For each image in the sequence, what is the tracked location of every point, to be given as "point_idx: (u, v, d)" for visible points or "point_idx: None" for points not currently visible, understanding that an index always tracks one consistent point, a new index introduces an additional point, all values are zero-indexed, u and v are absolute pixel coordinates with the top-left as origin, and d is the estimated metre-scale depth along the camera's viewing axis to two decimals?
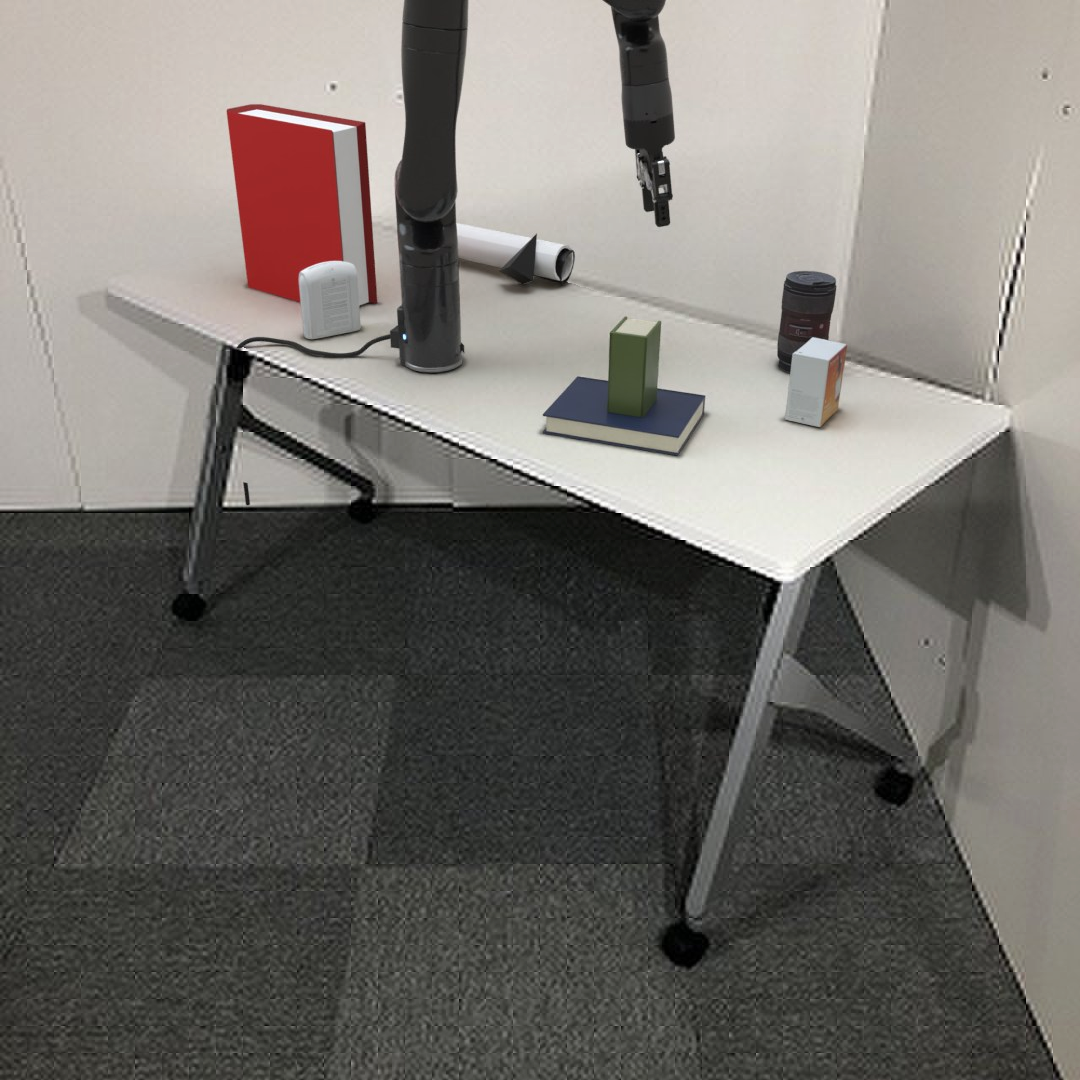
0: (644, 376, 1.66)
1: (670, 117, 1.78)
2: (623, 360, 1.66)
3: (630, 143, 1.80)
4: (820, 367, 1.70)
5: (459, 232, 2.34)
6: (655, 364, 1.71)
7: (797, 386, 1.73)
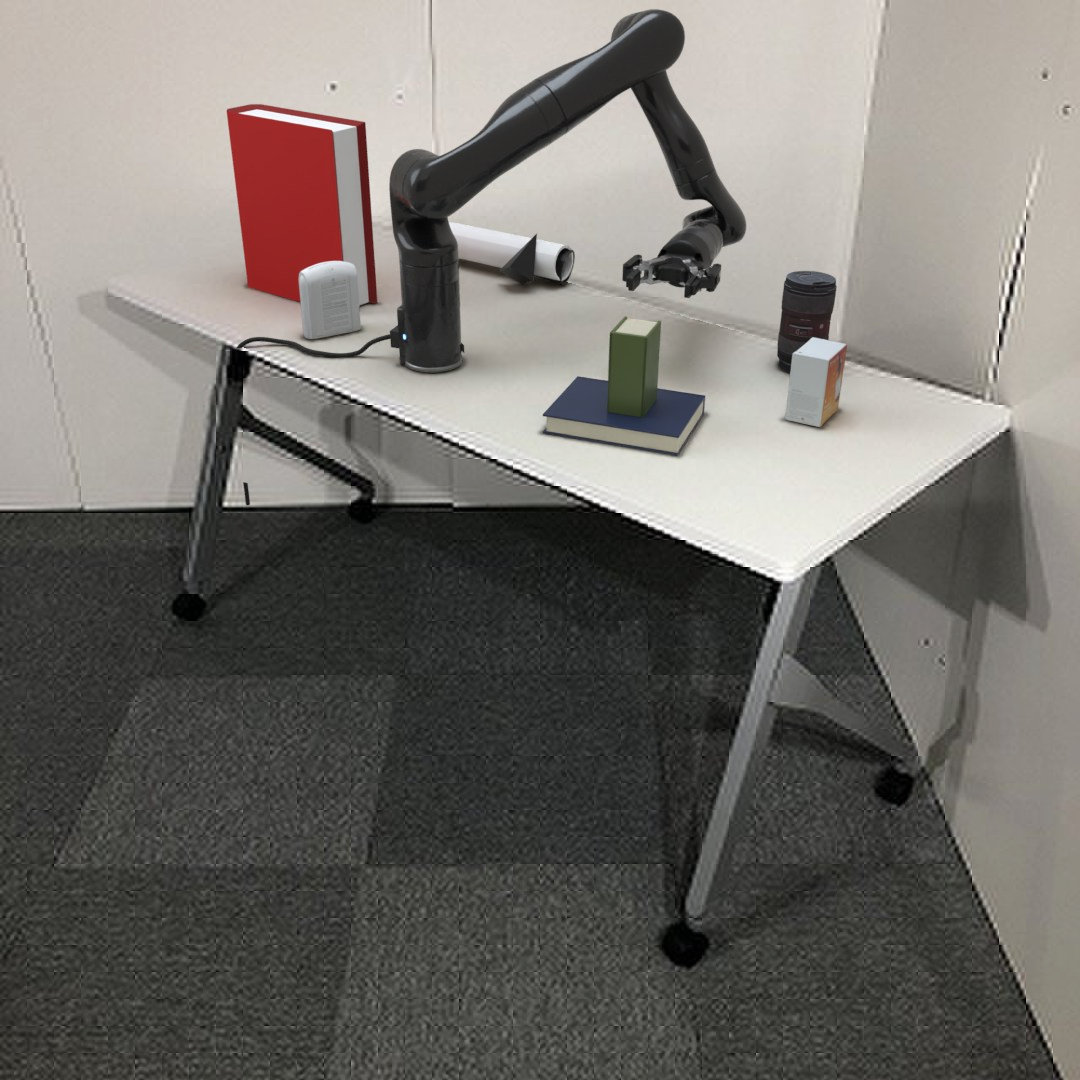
0: (644, 376, 1.66)
1: None
2: (623, 360, 1.66)
3: (693, 242, 1.83)
4: (820, 367, 1.70)
5: (459, 232, 2.34)
6: (655, 364, 1.71)
7: (797, 386, 1.73)
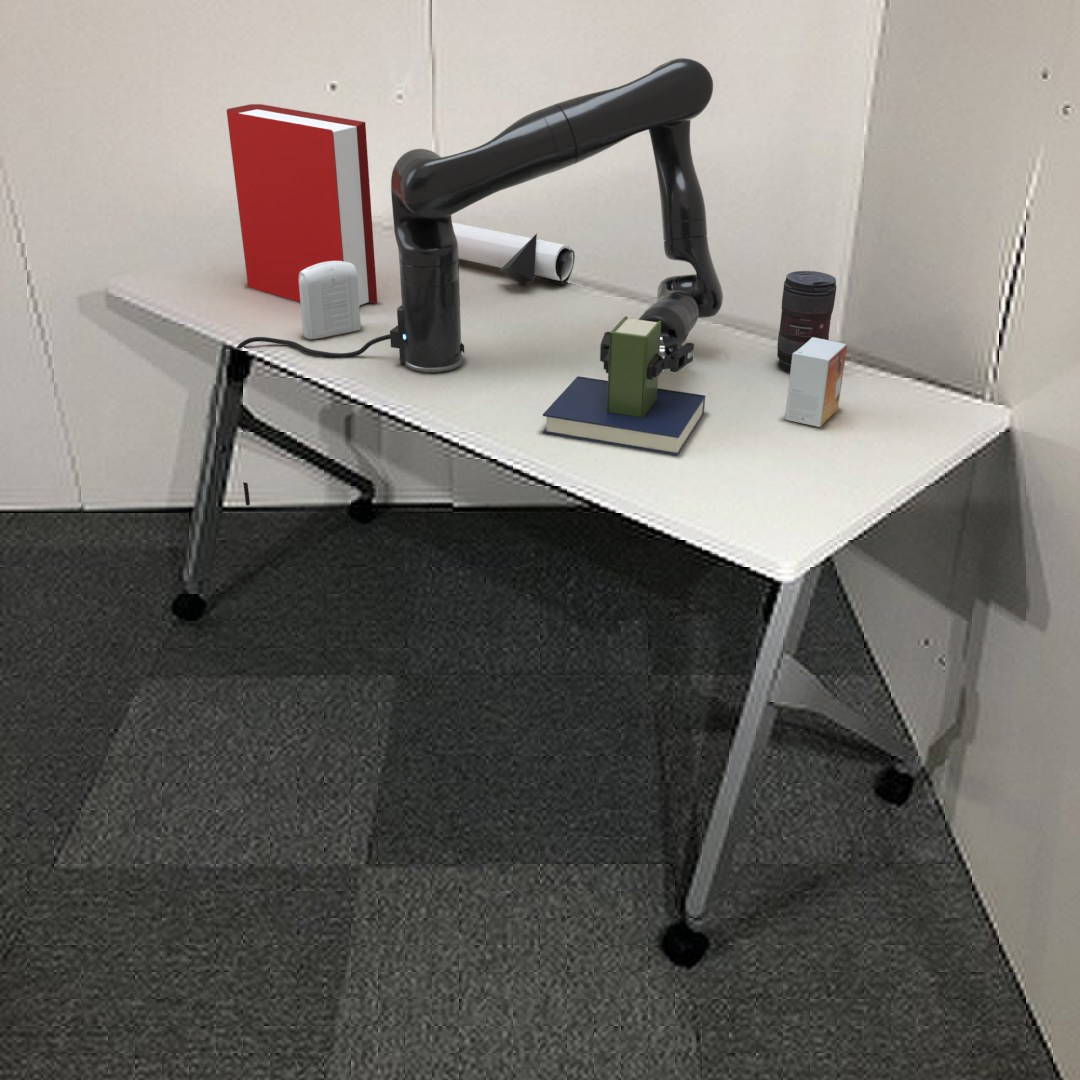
0: (644, 376, 1.66)
1: None
2: (623, 360, 1.66)
3: (666, 318, 1.76)
4: (820, 367, 1.70)
5: (459, 232, 2.34)
6: None
7: (797, 386, 1.73)
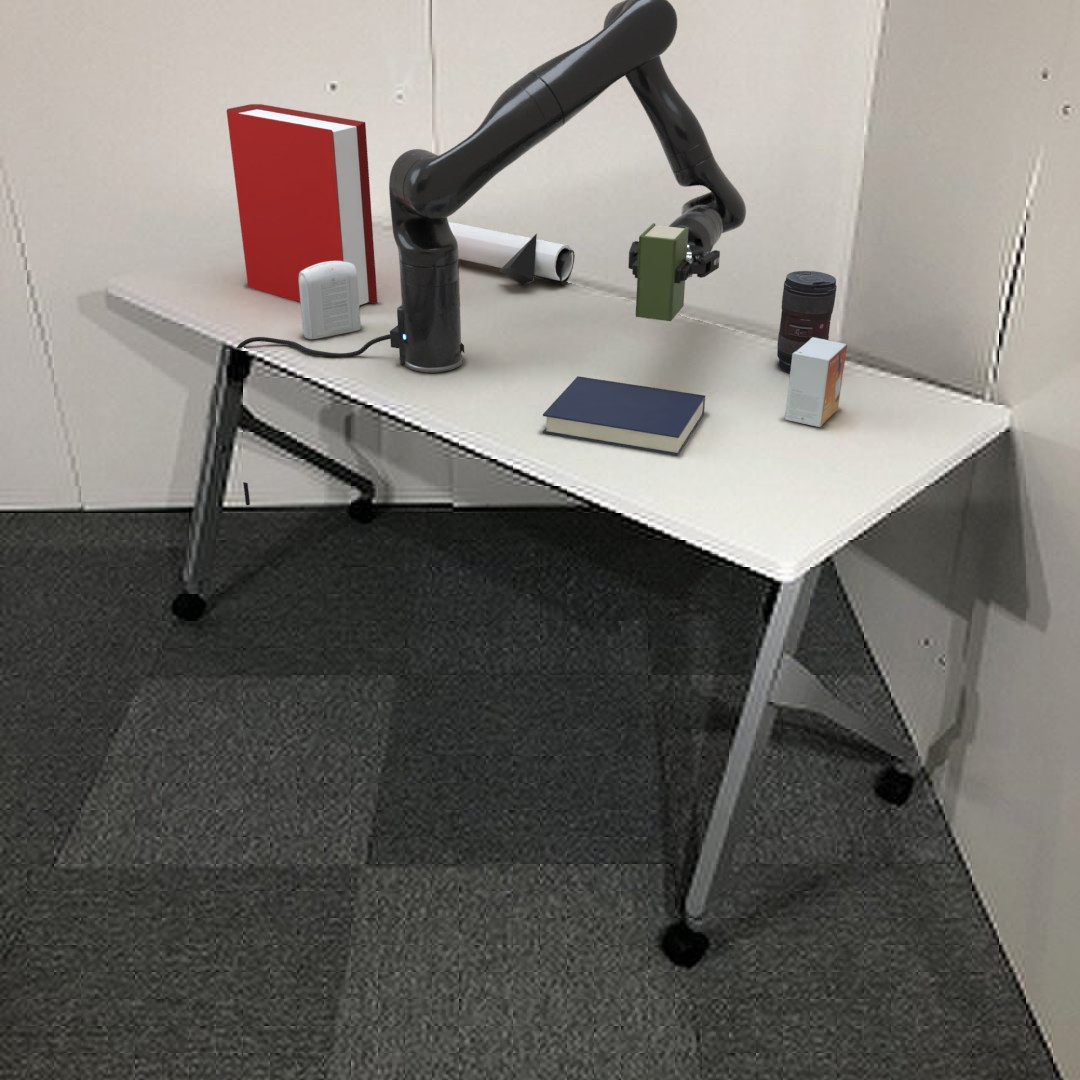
0: (672, 279, 1.71)
1: None
2: (652, 264, 1.71)
3: (693, 227, 1.81)
4: (820, 367, 1.70)
5: (458, 232, 2.34)
6: None
7: (797, 386, 1.73)
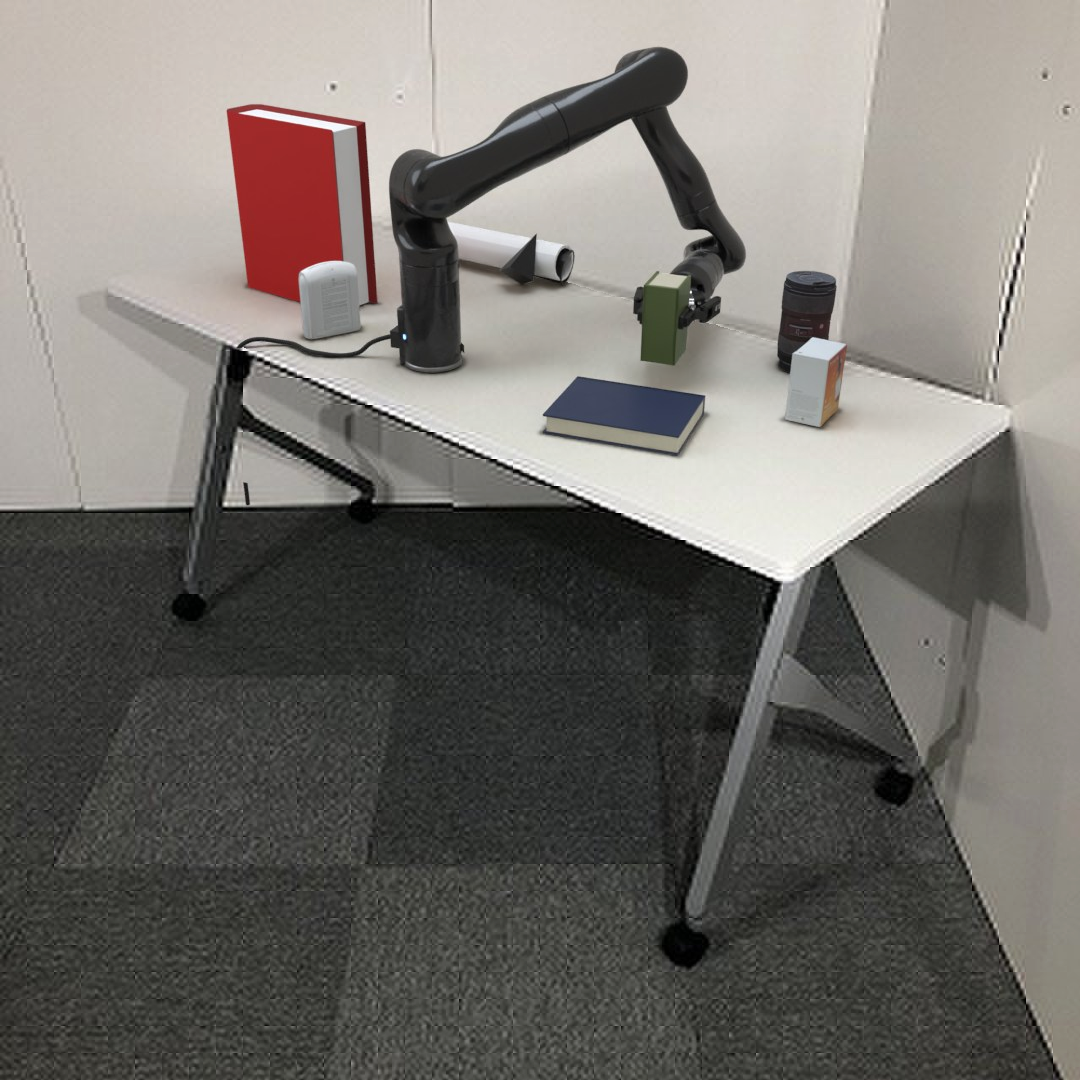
0: (676, 326, 1.79)
1: None
2: (656, 311, 1.79)
3: (695, 273, 1.88)
4: (820, 367, 1.70)
5: (458, 232, 2.34)
6: None
7: (797, 386, 1.73)
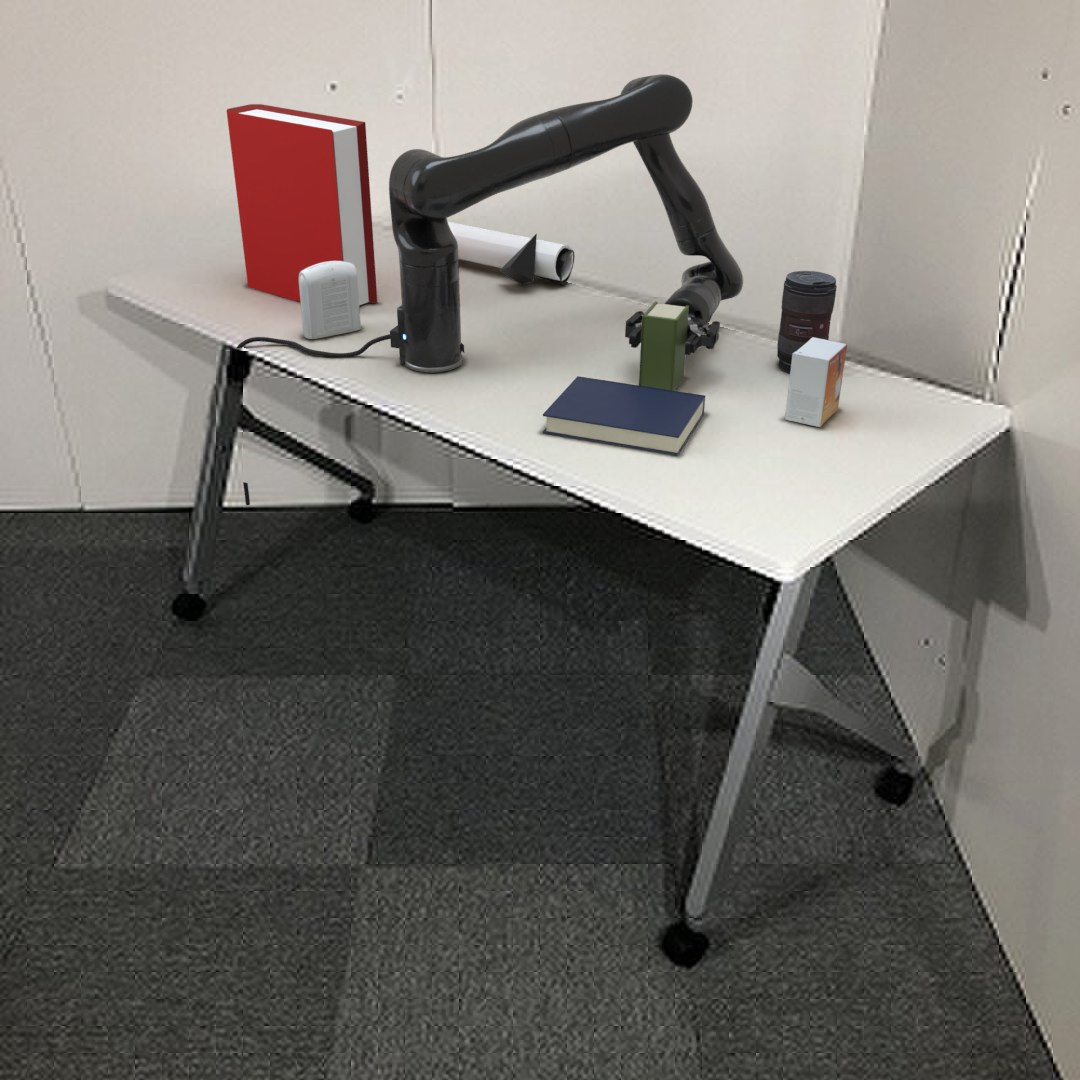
0: (673, 356, 1.81)
1: None
2: (654, 341, 1.81)
3: (692, 300, 1.90)
4: (820, 367, 1.70)
5: (458, 232, 2.34)
6: (683, 345, 1.85)
7: (797, 386, 1.73)
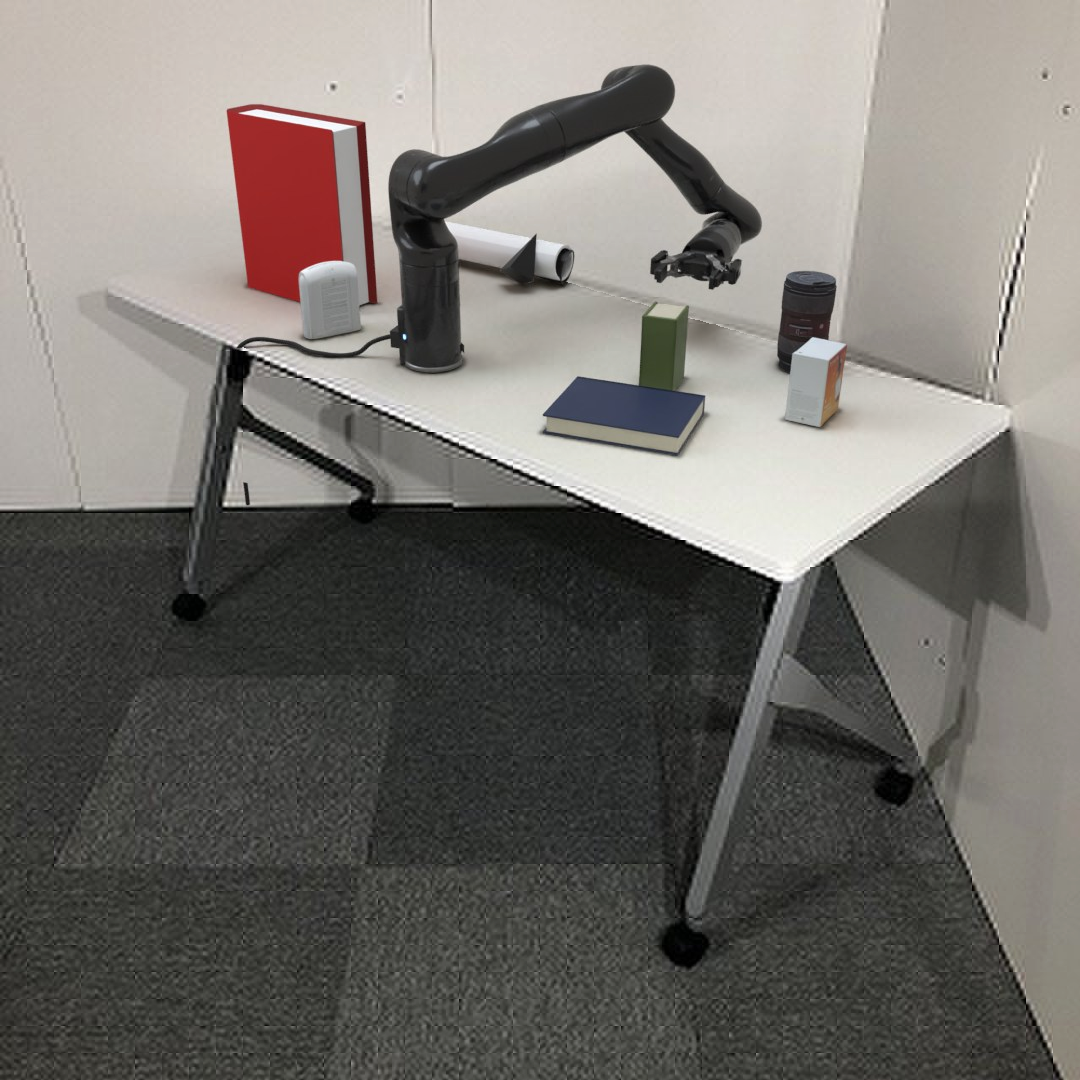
0: (673, 356, 1.81)
1: None
2: (654, 341, 1.81)
3: (715, 239, 1.98)
4: (820, 367, 1.70)
5: (458, 232, 2.34)
6: (683, 345, 1.85)
7: (797, 386, 1.73)
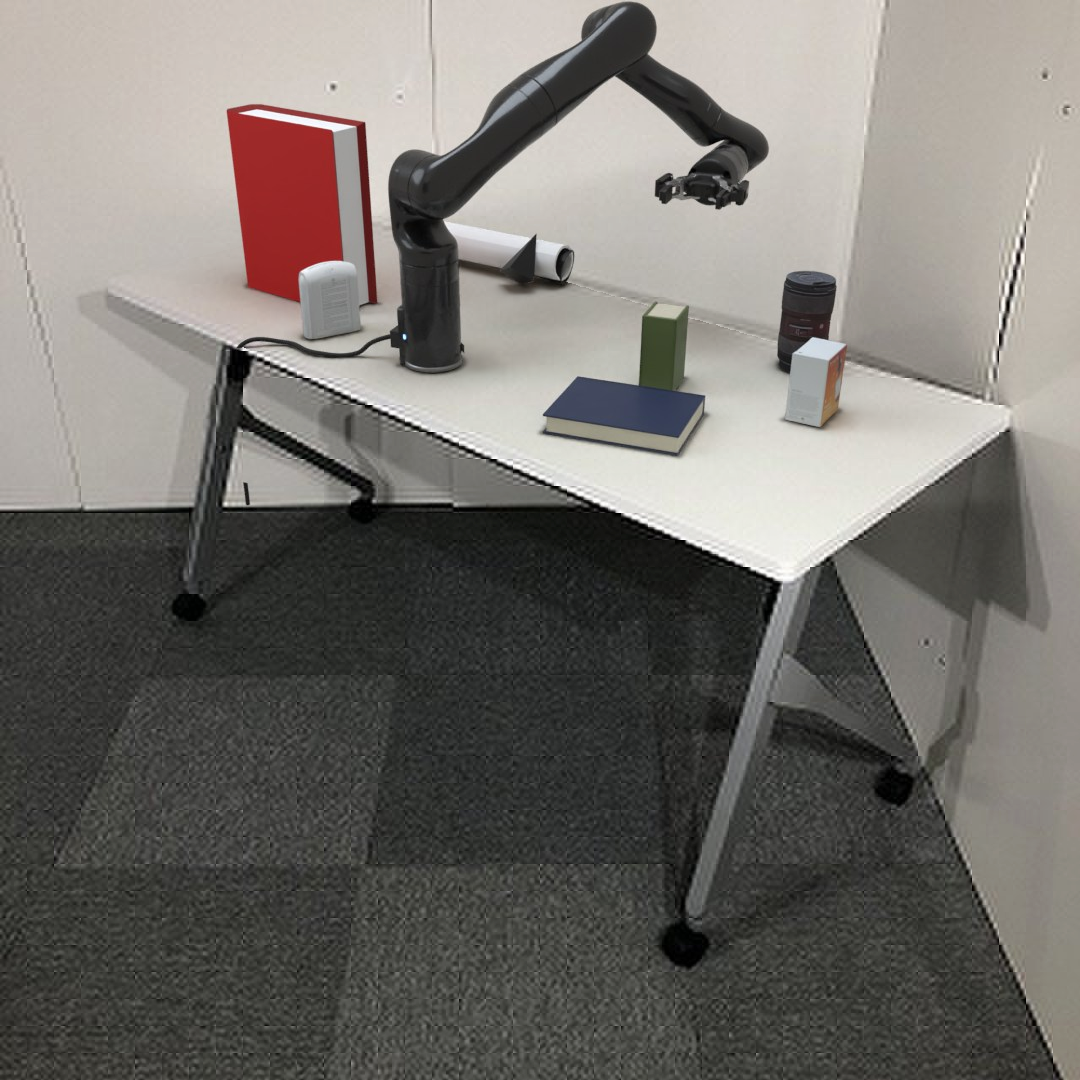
0: (673, 356, 1.81)
1: None
2: (654, 341, 1.81)
3: (721, 161, 1.91)
4: (820, 367, 1.70)
5: (458, 233, 2.34)
6: (683, 345, 1.85)
7: (797, 386, 1.73)
